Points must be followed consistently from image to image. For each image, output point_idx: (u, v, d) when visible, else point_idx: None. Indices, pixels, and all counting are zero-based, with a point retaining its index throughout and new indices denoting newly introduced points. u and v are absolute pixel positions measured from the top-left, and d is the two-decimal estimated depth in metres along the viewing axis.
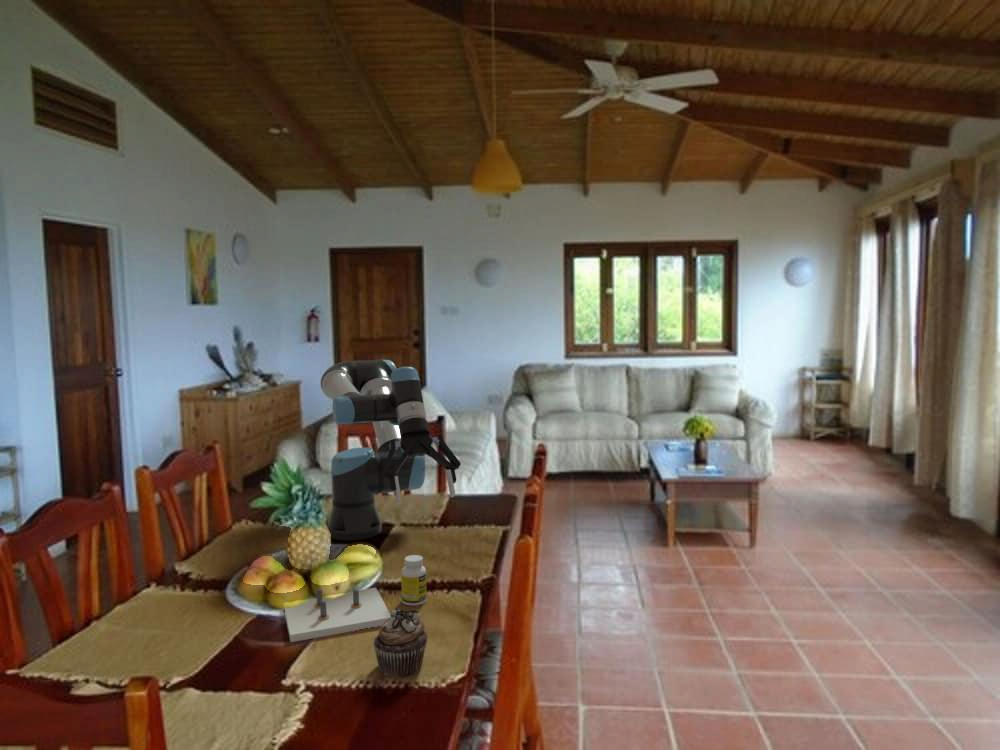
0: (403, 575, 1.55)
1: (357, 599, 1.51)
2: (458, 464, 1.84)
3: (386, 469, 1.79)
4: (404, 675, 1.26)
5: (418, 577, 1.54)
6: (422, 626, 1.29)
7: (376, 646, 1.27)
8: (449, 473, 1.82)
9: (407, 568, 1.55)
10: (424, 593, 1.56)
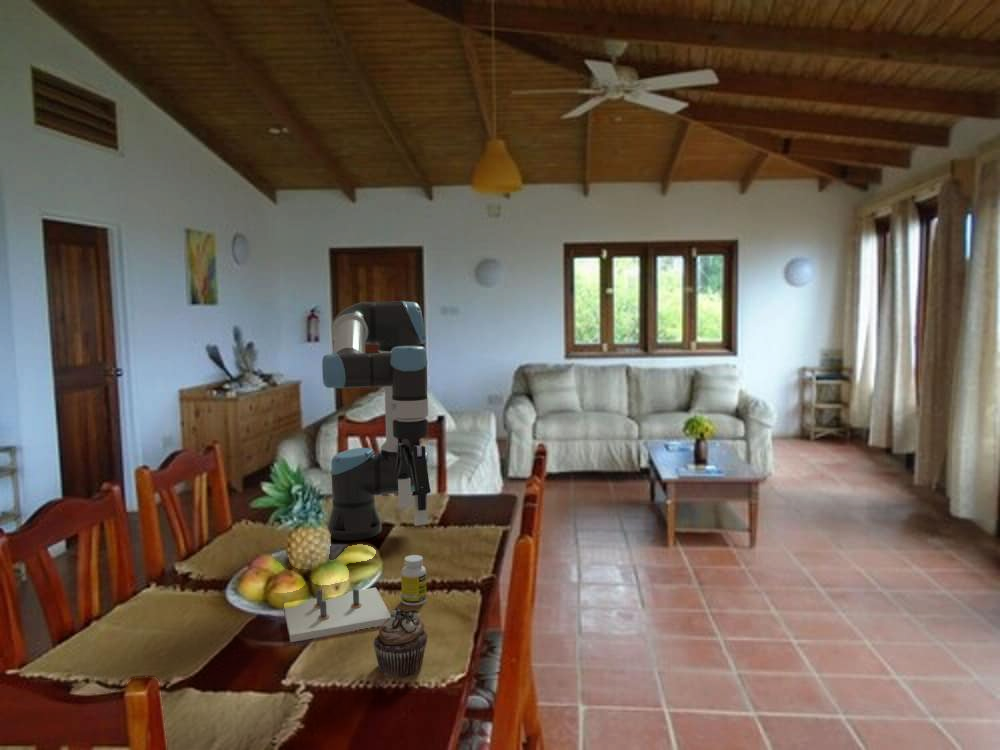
0: (403, 575, 1.55)
1: (357, 599, 1.51)
2: (417, 492, 1.45)
3: (396, 468, 1.62)
4: (404, 675, 1.26)
5: (418, 577, 1.54)
6: (422, 626, 1.29)
7: (376, 646, 1.27)
8: (414, 499, 1.48)
9: (407, 568, 1.55)
10: (424, 593, 1.56)
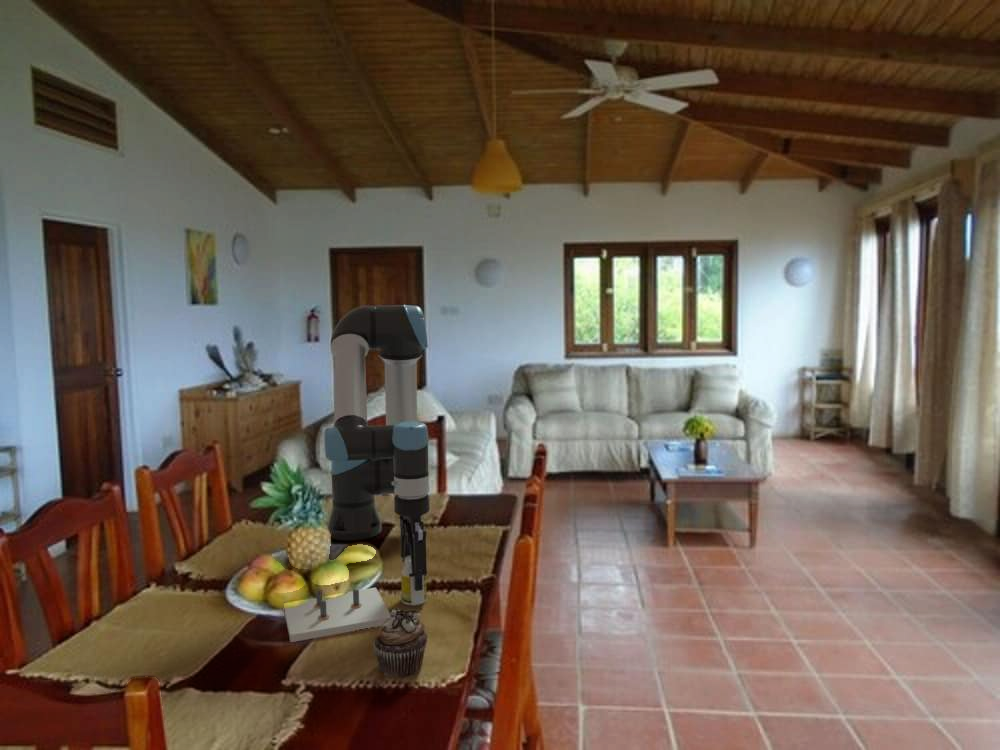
0: (403, 575, 1.55)
1: (357, 599, 1.51)
2: None
3: (401, 551, 1.61)
4: (404, 675, 1.26)
5: None
6: (422, 626, 1.29)
7: (376, 646, 1.27)
8: (411, 579, 1.53)
9: (407, 568, 1.55)
10: (424, 593, 1.56)
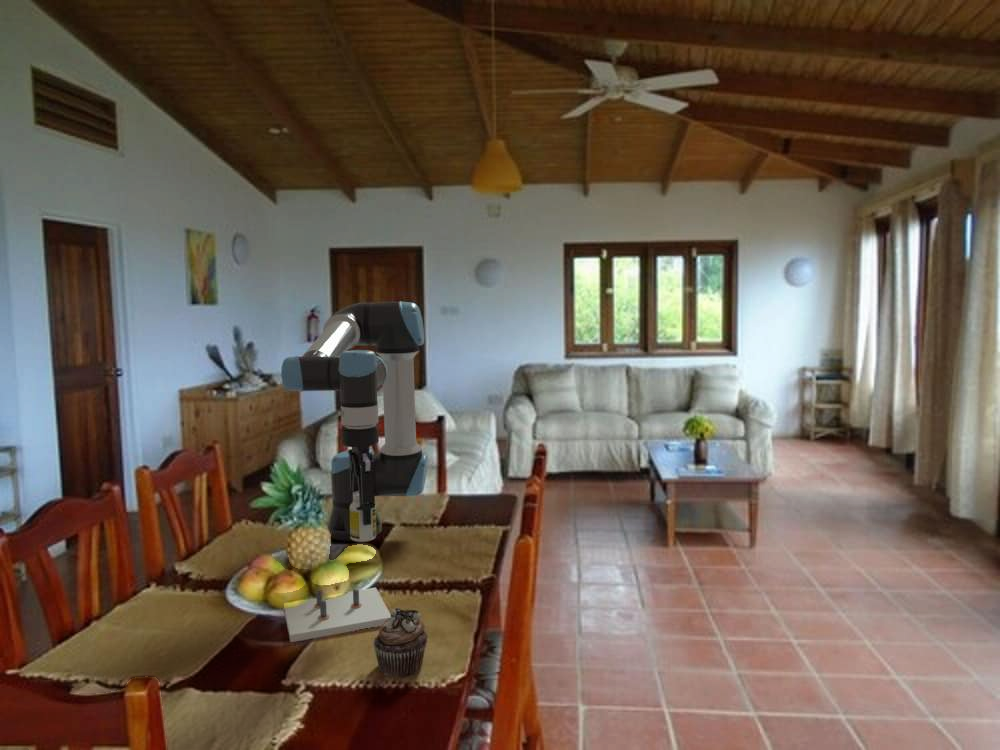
0: (351, 510, 1.48)
1: (357, 599, 1.51)
2: (362, 507, 1.44)
3: (350, 487, 1.54)
4: (404, 675, 1.26)
5: None
6: (422, 626, 1.29)
7: (376, 646, 1.27)
8: (359, 513, 1.47)
9: (355, 502, 1.49)
10: (373, 529, 1.49)
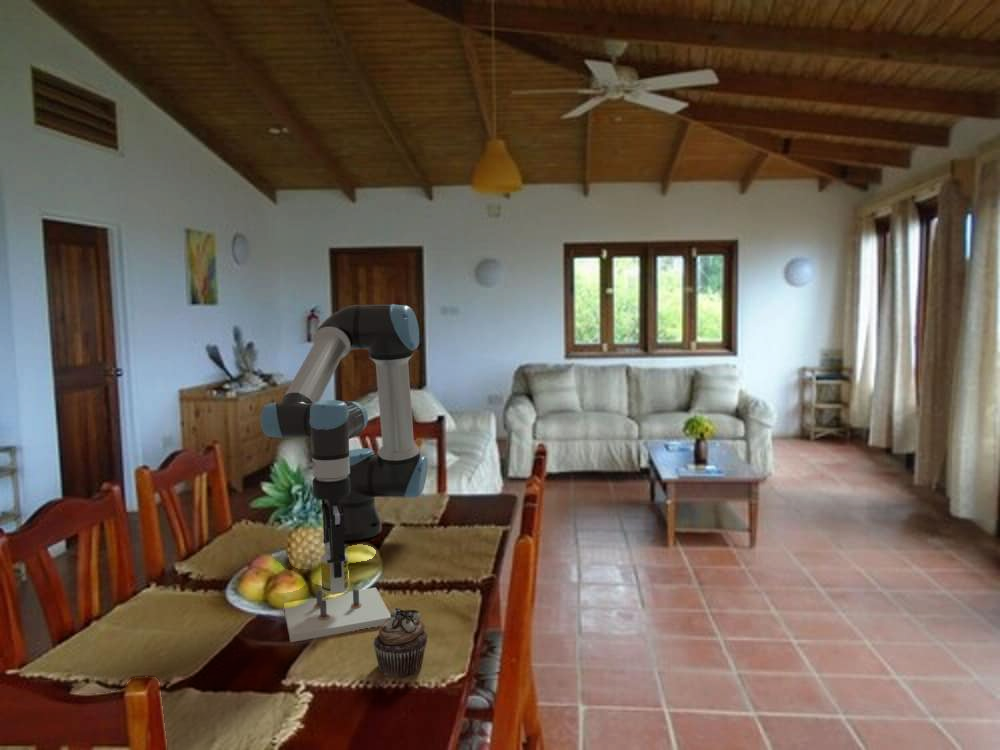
0: (322, 562, 1.47)
1: (357, 599, 1.51)
2: (332, 560, 1.43)
3: (324, 537, 1.53)
4: (404, 675, 1.26)
5: None
6: (422, 626, 1.29)
7: (376, 646, 1.27)
8: (330, 566, 1.46)
9: (327, 554, 1.47)
10: (345, 580, 1.48)
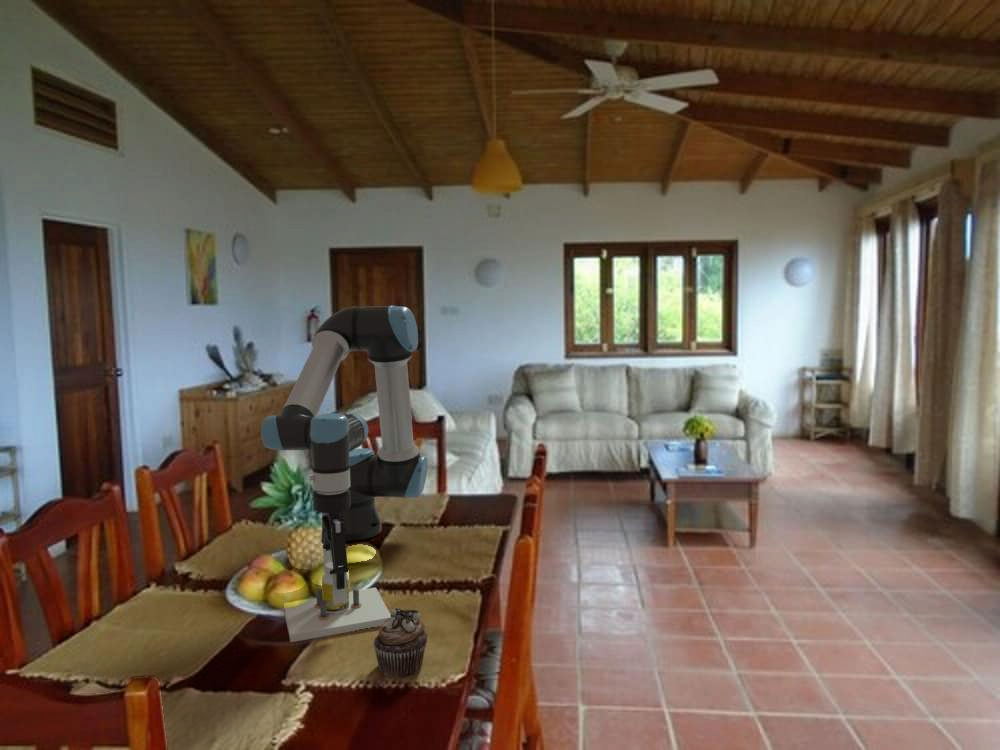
0: (323, 582, 1.48)
1: (357, 599, 1.51)
2: (334, 572, 1.40)
3: (322, 538, 1.56)
4: (404, 675, 1.26)
5: None
6: (422, 626, 1.29)
7: (376, 646, 1.27)
8: (332, 577, 1.43)
9: (327, 575, 1.48)
10: None
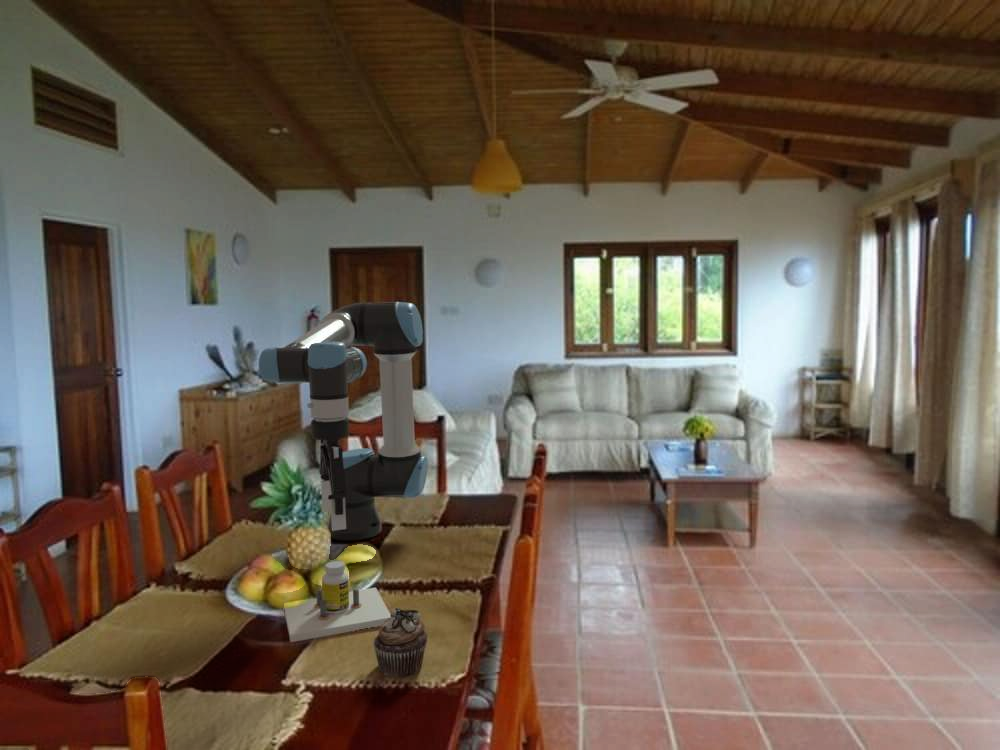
0: (323, 582, 1.48)
1: (357, 599, 1.51)
2: (333, 496, 1.38)
3: (320, 469, 1.55)
4: (404, 675, 1.26)
5: (339, 584, 1.47)
6: (422, 626, 1.29)
7: (376, 646, 1.27)
8: (331, 503, 1.41)
9: (327, 575, 1.48)
10: (346, 601, 1.49)
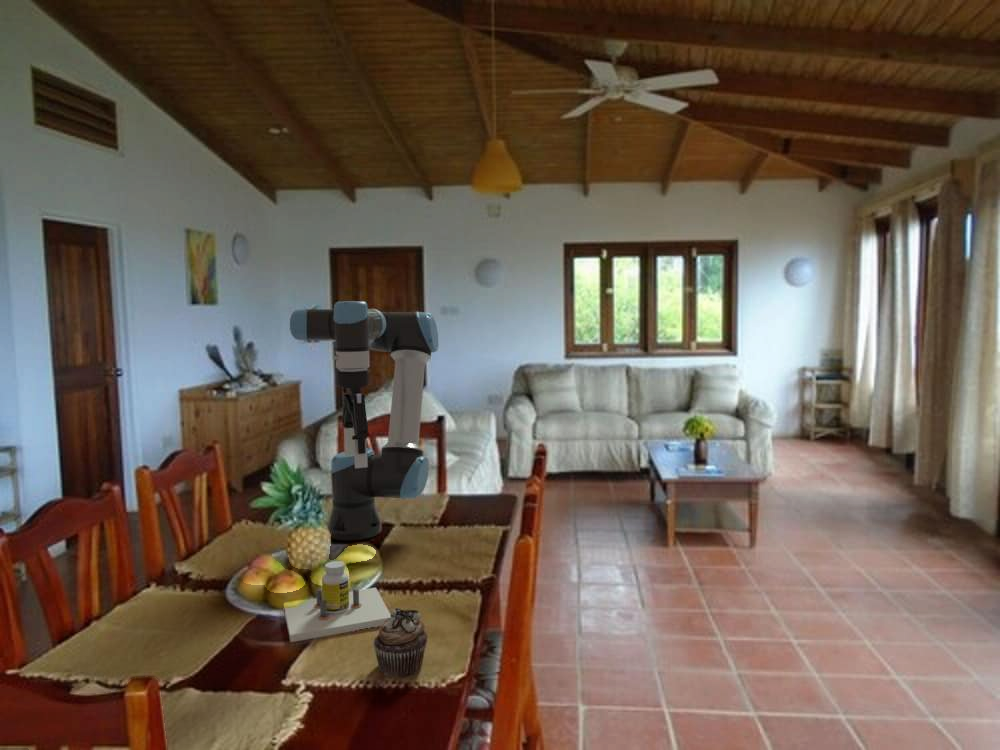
0: (323, 582, 1.48)
1: (357, 599, 1.51)
2: None
3: (342, 418, 1.72)
4: (404, 675, 1.26)
5: (339, 584, 1.47)
6: (422, 626, 1.29)
7: (376, 646, 1.27)
8: (354, 443, 1.58)
9: (327, 575, 1.48)
10: (346, 601, 1.49)
